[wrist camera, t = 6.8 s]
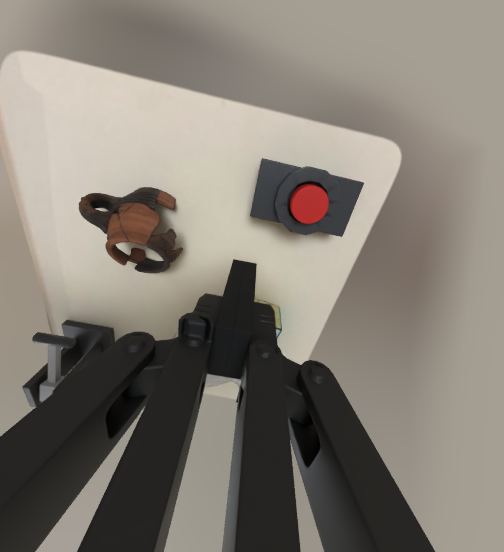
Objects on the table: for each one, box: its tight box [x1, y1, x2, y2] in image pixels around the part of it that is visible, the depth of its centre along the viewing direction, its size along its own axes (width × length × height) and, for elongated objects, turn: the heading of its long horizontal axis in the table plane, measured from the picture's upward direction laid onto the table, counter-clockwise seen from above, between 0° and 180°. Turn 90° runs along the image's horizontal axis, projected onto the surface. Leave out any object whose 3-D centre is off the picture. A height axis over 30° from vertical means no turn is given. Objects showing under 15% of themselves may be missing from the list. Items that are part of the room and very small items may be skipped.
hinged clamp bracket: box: [22, 320, 115, 407], centre depth 38 cm, size 10×8×11 cm
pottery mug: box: [79, 187, 183, 273], centre depth 29 cm, size 12×10×8 cm
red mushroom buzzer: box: [250, 159, 364, 237], centre depth 26 cm, size 11×6×6 cm, turn 78°
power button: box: [290, 184, 329, 224], centre depth 23 cm, size 4×4×2 cm
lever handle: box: [32, 332, 76, 402], centre depth 34 cm, size 10×5×2 cm, turn 169°
